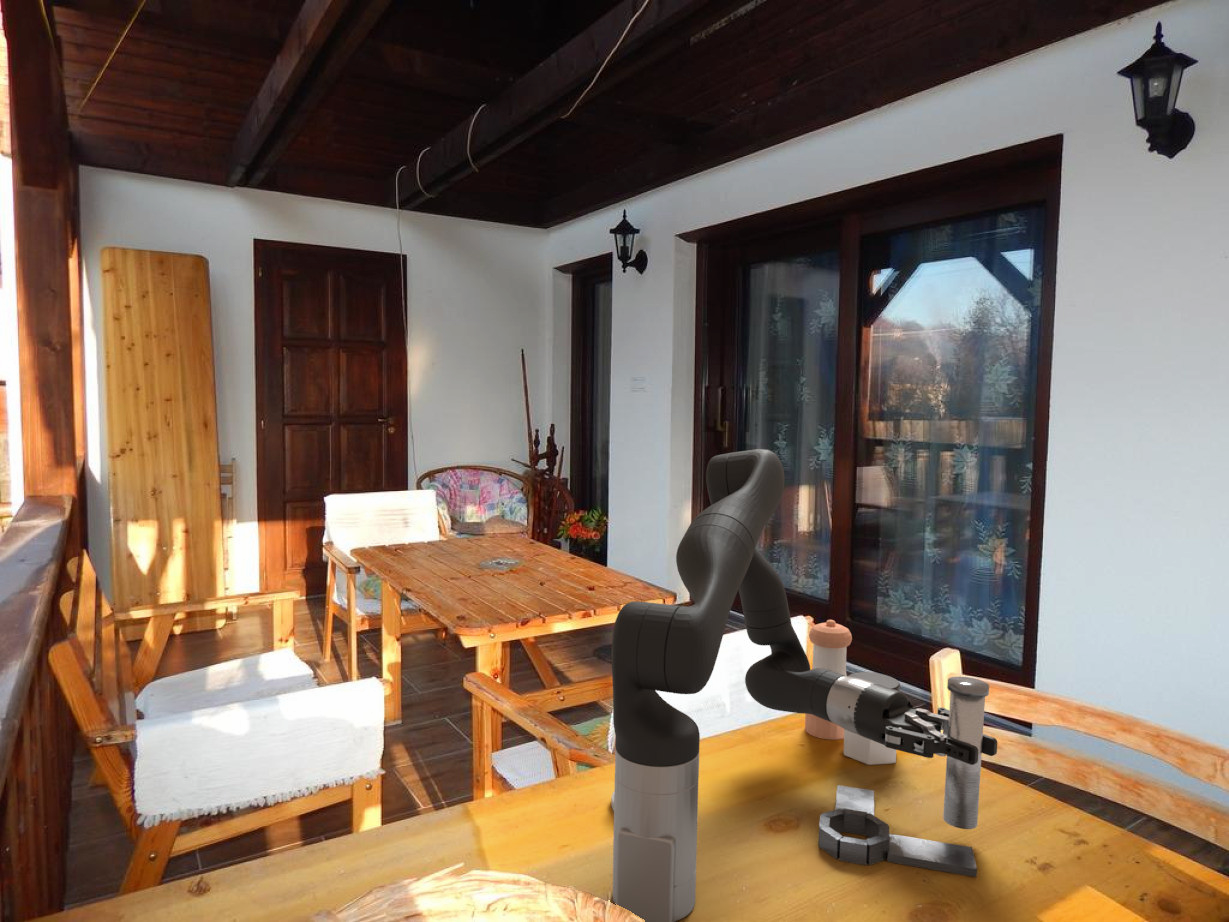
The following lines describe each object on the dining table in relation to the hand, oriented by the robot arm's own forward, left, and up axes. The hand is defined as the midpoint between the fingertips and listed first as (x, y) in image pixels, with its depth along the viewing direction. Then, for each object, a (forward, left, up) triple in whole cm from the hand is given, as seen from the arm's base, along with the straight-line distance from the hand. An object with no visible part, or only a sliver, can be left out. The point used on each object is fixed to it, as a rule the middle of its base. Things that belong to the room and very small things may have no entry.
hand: (985, 752), depth 101 cm
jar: (+25, +13, -13) cm, 31 cm away
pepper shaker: (+32, +20, -13) cm, 40 cm away
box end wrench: (+1, +10, -13) cm, 16 cm away
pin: (+1, +2, -10) cm, 10 cm away
